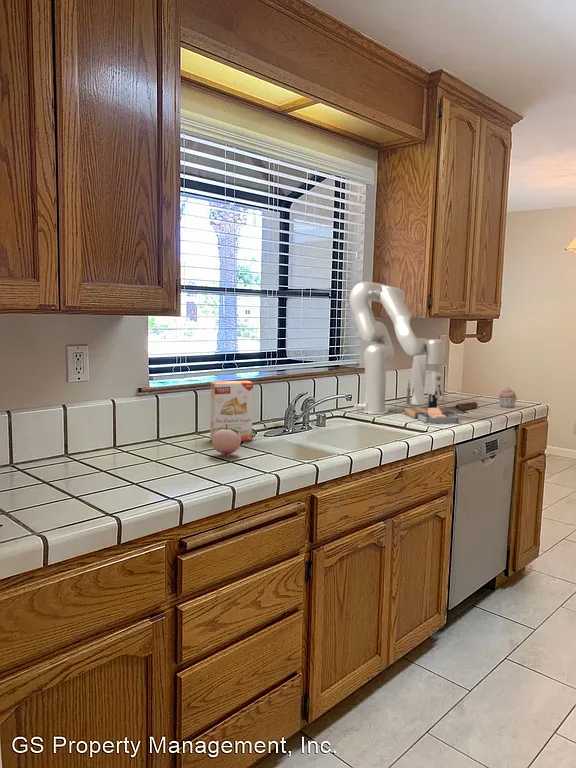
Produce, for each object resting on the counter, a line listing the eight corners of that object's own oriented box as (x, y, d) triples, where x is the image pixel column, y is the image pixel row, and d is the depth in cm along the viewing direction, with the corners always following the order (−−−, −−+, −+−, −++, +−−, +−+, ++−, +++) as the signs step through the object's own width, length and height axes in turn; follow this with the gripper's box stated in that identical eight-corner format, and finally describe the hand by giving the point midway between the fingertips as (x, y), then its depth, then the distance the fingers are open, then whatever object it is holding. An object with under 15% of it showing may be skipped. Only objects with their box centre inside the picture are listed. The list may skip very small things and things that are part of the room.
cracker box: (214, 443, 197) (214, 383, 194) (210, 440, 202) (209, 381, 200) (253, 440, 202) (253, 381, 199) (247, 437, 207) (248, 380, 205)
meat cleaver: (447, 418, 253) (447, 409, 253) (427, 414, 262) (427, 405, 262) (492, 412, 273) (492, 404, 273) (471, 409, 282) (472, 401, 282)
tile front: (432, 414, 243) (431, 420, 243) (436, 416, 238) (436, 422, 239) (442, 414, 243) (441, 420, 244) (446, 416, 239) (446, 422, 239)
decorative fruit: (210, 459, 176) (209, 427, 175) (212, 452, 184) (212, 421, 183) (240, 459, 176) (240, 427, 175) (242, 452, 184) (242, 422, 183)
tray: (426, 424, 237) (426, 418, 237) (417, 419, 247) (417, 414, 247) (458, 423, 239) (458, 417, 239) (447, 419, 249) (448, 413, 249)
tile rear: (430, 418, 244) (432, 413, 243) (427, 412, 248) (428, 407, 246) (440, 418, 245) (442, 413, 243) (437, 412, 248) (438, 407, 247)
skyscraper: (417, 403, 294) (419, 348, 291) (429, 405, 287) (431, 349, 284) (405, 404, 289) (407, 349, 286) (417, 406, 283) (420, 350, 279)
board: (414, 419, 247) (414, 412, 247) (404, 414, 259) (404, 408, 259) (453, 418, 250) (454, 412, 250) (442, 414, 262) (442, 407, 262)
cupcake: (518, 406, 287) (520, 387, 286) (514, 409, 279) (516, 388, 278) (499, 405, 292) (500, 385, 291) (494, 407, 284) (496, 387, 283)
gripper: (450, 369, 240) (448, 413, 242) (435, 366, 254) (433, 407, 256) (433, 369, 238) (431, 413, 240) (419, 366, 253) (417, 407, 255)
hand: (432, 410), depth 248 cm, fingers closed
